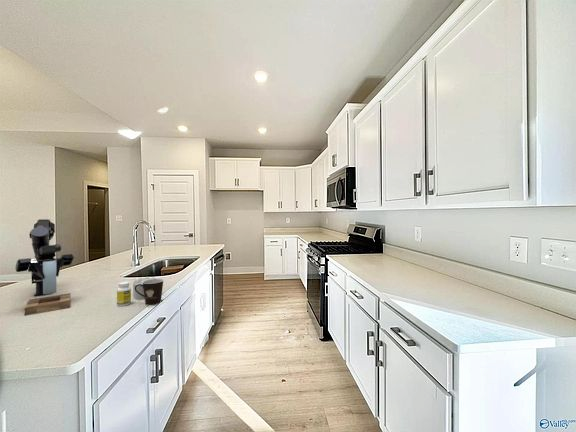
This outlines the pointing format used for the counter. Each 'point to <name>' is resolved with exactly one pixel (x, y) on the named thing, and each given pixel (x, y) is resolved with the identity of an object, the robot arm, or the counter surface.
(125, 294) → the supplement bottle
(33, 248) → the robot arm
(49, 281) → the peg
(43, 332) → the counter surface
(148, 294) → the coffee mug
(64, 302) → the holder
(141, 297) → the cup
